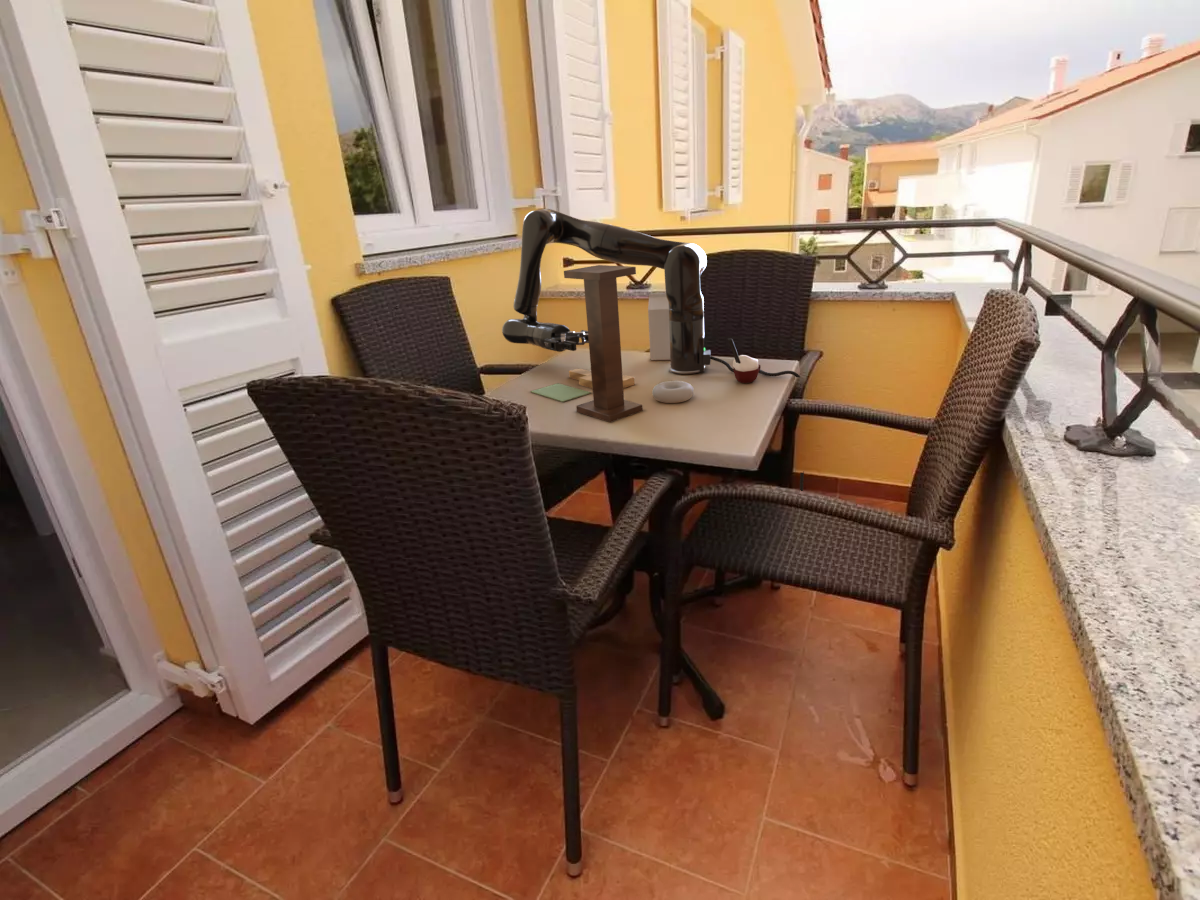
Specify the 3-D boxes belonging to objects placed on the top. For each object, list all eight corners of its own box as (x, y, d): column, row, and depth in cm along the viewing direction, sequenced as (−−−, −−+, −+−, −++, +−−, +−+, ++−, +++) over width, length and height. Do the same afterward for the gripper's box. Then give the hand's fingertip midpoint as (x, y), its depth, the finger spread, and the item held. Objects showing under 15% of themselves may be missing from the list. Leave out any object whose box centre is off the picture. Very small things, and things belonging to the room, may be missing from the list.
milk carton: (674, 360, 184) (672, 294, 177) (650, 360, 185) (647, 295, 178) (676, 354, 190) (674, 290, 183) (653, 354, 192) (650, 291, 185)
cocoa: (758, 376, 162) (759, 330, 158) (766, 383, 156) (768, 335, 152) (722, 380, 161) (722, 334, 157) (729, 386, 156) (729, 339, 151)
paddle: (561, 380, 173) (560, 373, 172) (586, 372, 178) (586, 366, 177) (608, 393, 158) (608, 385, 158) (634, 384, 164) (634, 377, 163)
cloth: (530, 392, 164) (530, 391, 164) (558, 384, 169) (558, 383, 169) (562, 402, 154) (562, 401, 154) (591, 393, 159) (590, 392, 159)
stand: (576, 411, 146) (563, 270, 134) (608, 401, 152) (598, 265, 140) (610, 422, 138) (599, 273, 126) (643, 410, 144) (635, 266, 132)
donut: (689, 406, 145) (697, 392, 153) (689, 392, 143) (697, 378, 152) (647, 404, 148) (657, 391, 156) (646, 390, 146) (657, 378, 155)
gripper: (529, 328, 172) (565, 334, 161) (570, 319, 181) (607, 324, 169) (532, 354, 175) (568, 363, 164) (572, 344, 184) (608, 351, 172)
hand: (587, 343), depth 166 cm, fingers open, 8 cm apart
